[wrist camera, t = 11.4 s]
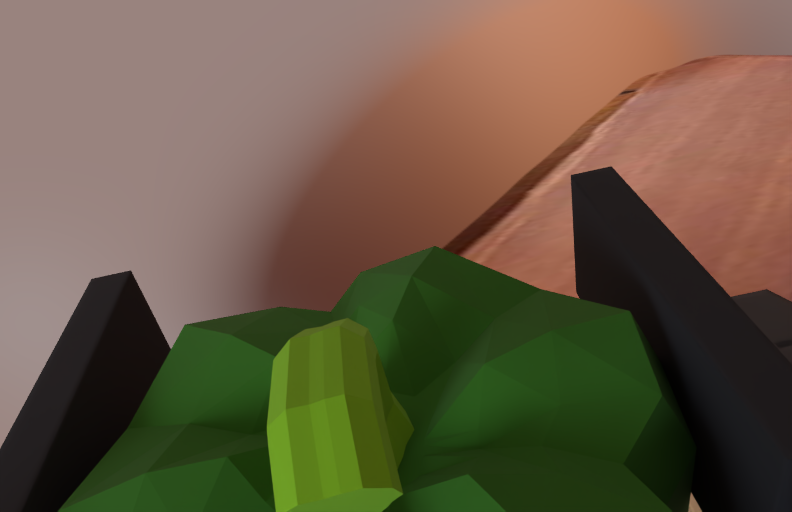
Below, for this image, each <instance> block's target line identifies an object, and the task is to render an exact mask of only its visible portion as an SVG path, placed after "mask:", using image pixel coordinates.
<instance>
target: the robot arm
mask: <svg viewBox="0 0 792 512" xmlns="http://www.w3.org/2000/svg"><path fill="white" fill-rule="evenodd" d="M571 188H572V210H573V231H574V252H575V273H576V293H577V294H578V296H579V298H580V299H583V300H587V301H591V302H595V303H599V304H603V305H607V306H611V307H615V308H619V309H623V310H628V311H630V312H631V314H632V315H633V317H634V319H635V320H636V322H637V324H638V325H639V327H640V329H641V330H642V332H643V333H644V335H645V337H646V338H647V340H648V342H649V343H650V345H651V347H652V348H653V350H654V352H655V353H656V355H657V356H658V358H659V360H660V362H661V364H662V367H663V369H664V372H665V374H666V376H667V379H668V381H669V383H670V386H671V388H672V390H673V393H674V395H675V398H676V400H677V402H678V405H679V407H680V409H681V412H682V414H683V416H684V419H685V421H686V424H687V426H688V428H689V431H690V433H691V435H692V438H693V440H694V442H695V445H696V447H697V449H696V457H695V465H694V472H693V480H692V488H691V493H692V495H693V497H694V498H695V500H696V502H697V504H698V505H699V507H700V509H701V511H702V512H792V302H791V301H789V300H787V299H785V298H783V297H781V296H779V295H777V294H775V293H773V292H771V291H769V290H767V289H766V290H762V291H757V292H752V293H747V294H743V295H738V296H733V297H730V296H729V295H728V294H727V293H726V291H725V290H724V289H723V288H722V287H721V286H720V285H719V284H718V283H717V282H716V280H715V279H714V278H713V277H712V276H711V275H710V274H709V273H708V272H707V271H706V270H705V268H704V267H703V266H702V265H701V264H700V263H699V262H698V261H697V260H696V259H695V257H694V256H693V255H692V254H691V253H690V252H689V251H688V250H687V249H686V248H685V247H684V245H683V244H682V243H681V242H680V241H679V240H678V239H677V238H676V237H675V236H674V234H673V233H672V232H671V231H670V230H669V229H668V228H667V227H666V226H665V225H664V224H663V222H662V221H661V220H660V219H659V218H658V217H657V216H656V215H655V214H654V213H653V211H652V210H651V209H650V208H649V207H648V206H647V205H646V204H645V203H644V202H643V201H642V199H641V198H640V197H639V196H638V195H637V194H636V193H635V192H634V191H633V190H632V188H631V187H630V186H629V185H628V184H627V183H626V182H625V181H624V180H623V179H622V178H621V176H620V175H619V174H618V173H617V172H616V171H615V170H614V169H613V168H612V167H607V168H602V169H597V170H593V171H588V172H583V173H579V174H574V175H571ZM170 351H171V349H170V347H169V345H168V343H167V341H166V339H165V337H164V335H163V333H162V331H161V329H160V327H159V325H158V323H157V321H156V319H155V317H154V315H153V313H152V311H151V309H150V307H149V305H148V303H147V301H146V300H145V297H144V295H143V293H142V291H141V290H140V288H139V286H138V284H137V282H136V280H135V278H134V276H133V274H132V272H131V271H127V272H122V273H117V274H112V275H108V276H104V277H99V278H94V279H91V282H90V283H89V285H88V287H87V289H86V290H85V293H84V294H83V296H82V298H81V300H80V302H79V303H78V305H77V307H76V309H75V311H74V313H73V315H72V316H71V318H70V320H69V322H68V324H67V326H66V328H65V329H64V331H63V333H62V335H61V337H60V339H59V341H58V343H57V344H56V346H55V348H54V350H53V352H52V354H51V356H50V357H49V359H48V361H47V363H46V365H45V367H44V368H43V370H42V372H41V374H40V376H39V378H38V380H37V381H36V383H35V385H34V387H33V389H32V391H31V393H30V394H29V396H28V398H27V400H26V402H25V404H24V406H23V407H22V409H21V411H20V413H19V415H18V417H17V419H16V421H15V422H14V424H13V426H12V428H11V430H10V432H9V433H8V435H7V437H6V439H5V441H4V443H3V445H2V446H1V449H0V512H58V510H59V509H60V508H61V507H62V506H63V504H64V503H65V502H66V501H67V500H68V498H69V497H70V496H71V495H72V494H73V493H74V491H75V490H76V489H77V488H78V487H79V485H80V484H81V483H82V482H83V481H84V479H85V478H86V477H87V476H88V475H89V474H90V472H91V471H92V470H93V469H94V468H95V466H96V465H97V464H98V463H99V462H100V460H101V459H102V458H103V457H104V456H105V455H106V453H107V452H108V451H109V450H110V449H111V447H112V446H113V445H114V444H115V443H116V441H117V440H118V439H119V438H120V437H121V436H122V434H123V433H124V432H125V431H126V430H127V428H128V426H129V425H130V423H131V421H132V419H133V417H134V416H135V414H136V412H137V410H138V408H139V407H140V405H141V403H142V401H143V399H144V398H145V396H146V394H147V392H148V390H149V389H150V387H151V385H152V383H153V381H154V380H155V378H156V376H157V374H158V372H159V371H160V369H161V367H162V365H163V363H164V362H165V360H166V358H167V356H168V354H169V353H170Z"/></svg>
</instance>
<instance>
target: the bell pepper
mask: <svg viewBox="0 0 792 512" xmlns="http://www.w3.org/2000/svg"><path fill="white" fill-rule="evenodd" d="M696 449H697V447H696V445H695V442H694V440H693V438H692V435H691V433H690V431H689V428H688V426H687V424H686V421H685V419H684V416H683V414H682V412H681V409H680V407H679V405H678V402H677V400H676V398H675V395H674V393H673V390H672V388H671V386H670V383H669V381H668V379H667V376H666V374H665V372H664V369H663V367H662V364H661V362H660V360H659V358H658V356H657V355H656V353H655V352H654V350H653V348H652V347H651V345H650V343H649V342H648V340H647V338H646V337H645V335H644V333H643V332H642V330H641V329H640V327H639V325H638V324H637V322H636V320H635V319H634V317H633V315H632V314H631V312H630V311H628V310H623V309H619V308H615V307H611V306H607V305H603V304H599V303H595V302H591V301H587V300H583V299H579V298H574V297H570V296H566V295H562V294H558V293H554V292H550V291H546V290H542V289H539V288H537V287H534V286H532V285H529V284H527V283H524V282H522V281H519V280H517V279H514V278H512V277H510V276H507V275H505V274H502V273H500V272H497V271H495V270H492V269H490V268H488V267H485V266H483V265H480V264H478V263H475V262H473V261H470V260H468V259H466V258H463V257H461V256H458V255H456V254H453V253H451V252H448V251H446V250H444V249H441V248H439V247H436V246H434V247H431V248H428V249H425V250H422V251H420V252H417V253H414V254H411V255H409V256H405V257H403V258H400V259H397V260H395V261H391V262H388V263H386V264H383V265H380V266H377V267H375V268H372V269H369V270H366V271H363V272H361V273H360V274H359V275H358V276H357V278H356V279H355V280H354V282H353V283H352V285H351V286H350V287H349V289H348V290H347V291H346V292H345V294H344V295H343V296H342V298H341V299H340V300H339V302H338V303H337V304H336V306H335V307H334V308H333V310H332V311H331V312H326V311H316V310H307V309H297V308H287V307H277V308H272V309H266V310H261V311H256V312H250V313H245V314H240V315H234V316H229V317H224V318H218V319H213V320H208V321H203V322H197V323H192V324H187V325H185V326H184V327H183V329H182V331H181V333H180V335H179V337H178V338H177V340H176V342H175V344H174V345H173V347H172V349H171V351H170V353H169V354H168V356H167V358H166V360H165V362H164V363H163V365H162V367H161V369H160V371H159V372H158V374H157V376H156V378H155V380H154V381H153V383H152V385H151V387H150V389H149V390H148V392H147V394H146V396H145V398H144V399H143V401H142V403H141V405H140V407H139V408H138V410H137V412H136V414H135V416H134V417H133V419H132V421H131V423H130V425H129V426H128V428H127V430H126V431H125V432H124V433H123V434H122V436H121V437H120V438H119V439H118V440H117V441H116V443H115V444H114V445H113V446H112V447H111V449H110V450H109V451H108V452H107V453H106V455H105V456H104V457H103V458H102V459H101V460H100V462H99V463H98V464H97V465H96V466H95V468H94V469H93V470H92V471H91V472H90V474H89V475H88V476H87V477H86V478H85V479H84V481H83V482H82V483H81V484H80V485H79V487H78V488H77V489H76V490H75V491H74V493H73V494H72V495H71V496H70V497H69V498H68V500H67V501H66V502H65V503H64V504H63V506H62V507H61V508H60V509H59V510H58V512H688V511H689V503H690V495H691V488H692V480H693V472H694V465H695V457H696Z"/></svg>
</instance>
